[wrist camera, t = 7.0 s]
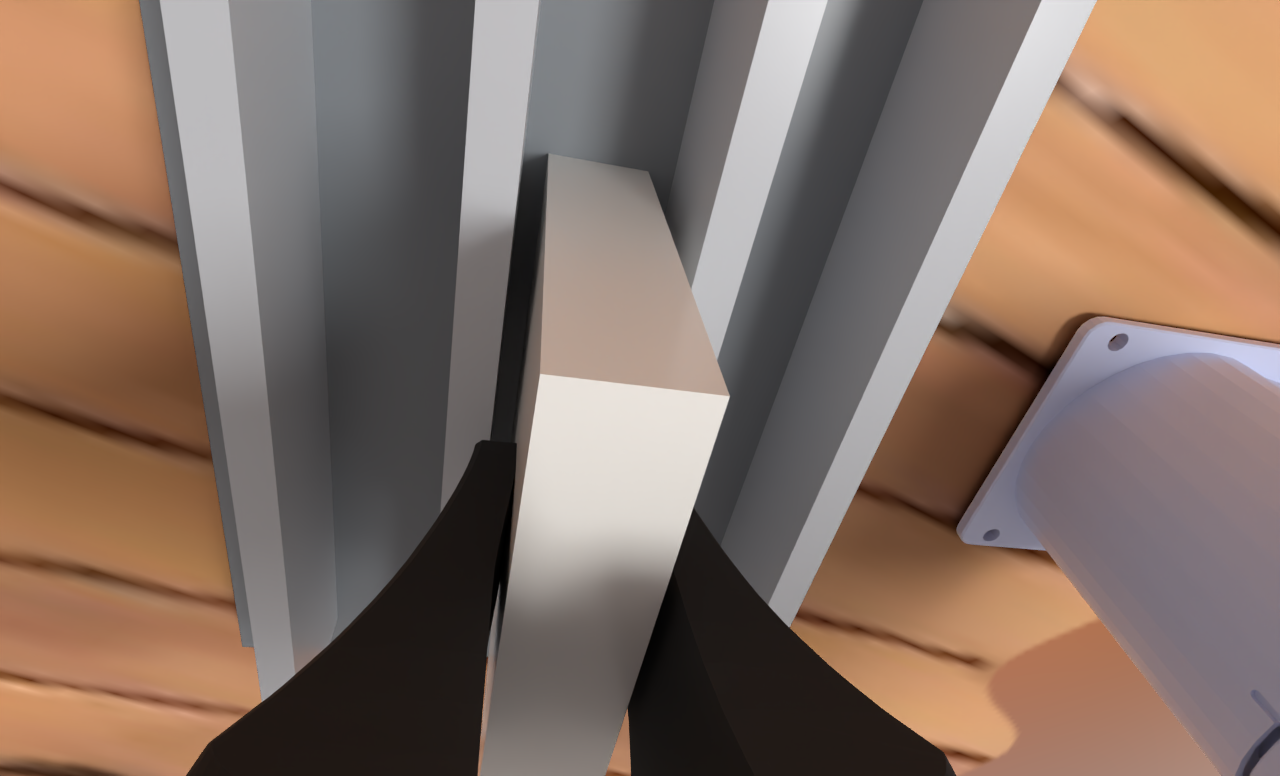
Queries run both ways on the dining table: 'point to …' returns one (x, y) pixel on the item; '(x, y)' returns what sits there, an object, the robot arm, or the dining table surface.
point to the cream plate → (595, 470)
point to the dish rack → (507, 237)
